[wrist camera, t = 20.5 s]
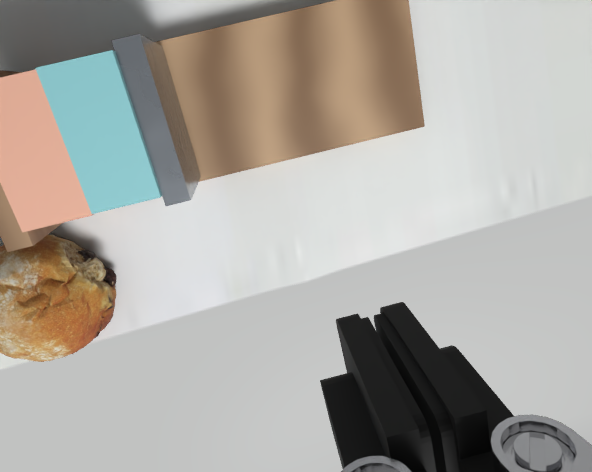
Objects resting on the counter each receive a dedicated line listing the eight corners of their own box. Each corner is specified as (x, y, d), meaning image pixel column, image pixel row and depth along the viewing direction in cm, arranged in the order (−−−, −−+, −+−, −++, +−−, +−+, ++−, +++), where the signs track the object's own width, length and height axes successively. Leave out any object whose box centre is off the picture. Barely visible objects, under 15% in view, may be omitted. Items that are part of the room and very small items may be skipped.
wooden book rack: (399, -12, 34) (457, -48, 25) (417, 124, 37) (474, 136, 28) (12, 77, 32) (-75, 74, 24) (65, 210, 36) (7, 252, 27)
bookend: (162, 46, 31) (139, 33, 24) (201, 176, 34) (190, 200, 27) (140, 51, 31) (111, 40, 24) (181, 180, 34) (165, 206, 27)
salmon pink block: (87, 74, 32) (35, 69, 24) (126, 185, 34) (92, 215, 26) (29, 87, 31) (-43, 87, 23) (73, 198, 34) (22, 232, 26)
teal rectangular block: (144, 59, 32) (112, 50, 24) (179, 171, 34) (160, 197, 26) (87, 72, 32) (35, 67, 24) (126, 184, 34) (91, 214, 26)
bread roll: (20, 219, 39) (-78, 250, 32) (120, 228, 36) (36, 264, 29) (43, 323, 42) (-43, 372, 35) (137, 339, 39) (64, 397, 32)
